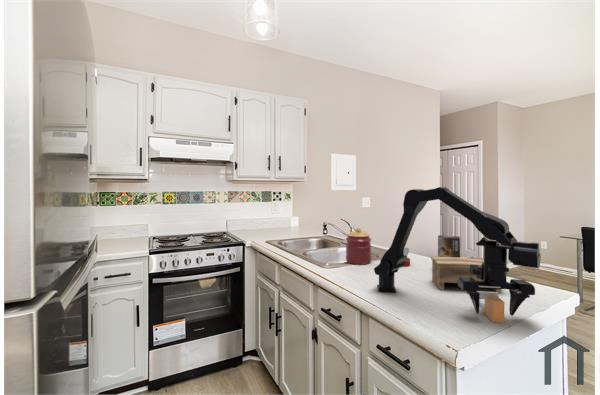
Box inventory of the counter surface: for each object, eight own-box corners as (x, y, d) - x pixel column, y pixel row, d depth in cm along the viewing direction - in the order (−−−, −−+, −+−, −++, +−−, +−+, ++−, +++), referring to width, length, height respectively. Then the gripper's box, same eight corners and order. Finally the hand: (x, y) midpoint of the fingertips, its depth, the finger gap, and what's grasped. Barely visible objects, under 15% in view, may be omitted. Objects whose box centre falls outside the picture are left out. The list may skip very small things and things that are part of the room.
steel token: (495, 302, 103) (495, 299, 103) (481, 301, 103) (481, 299, 103) (488, 297, 107) (488, 295, 107) (475, 297, 107) (475, 294, 107)
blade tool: (529, 324, 85) (530, 303, 84) (493, 322, 86) (493, 301, 86) (497, 298, 104) (497, 281, 104) (467, 296, 105) (468, 280, 105)
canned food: (407, 276, 145) (408, 260, 140) (386, 271, 150) (386, 256, 145) (412, 261, 153) (413, 245, 148) (392, 256, 158) (392, 241, 153)
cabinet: (503, 293, 108) (504, 266, 108) (438, 290, 112) (438, 263, 112) (489, 283, 119) (489, 258, 119) (430, 280, 124) (431, 256, 123)
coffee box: (460, 271, 136) (460, 236, 136) (460, 275, 131) (460, 238, 130) (438, 268, 141) (438, 234, 140) (437, 272, 135) (437, 237, 134)
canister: (348, 257, 163) (348, 225, 162) (373, 259, 158) (373, 226, 158) (343, 263, 151) (343, 228, 150) (369, 266, 146) (369, 230, 146)
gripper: (515, 256, 94) (514, 305, 95) (452, 254, 98) (451, 301, 98) (537, 266, 83) (535, 321, 84) (464, 263, 87) (463, 316, 87)
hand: (494, 314), depth 89 cm, fingers open, 9 cm apart
